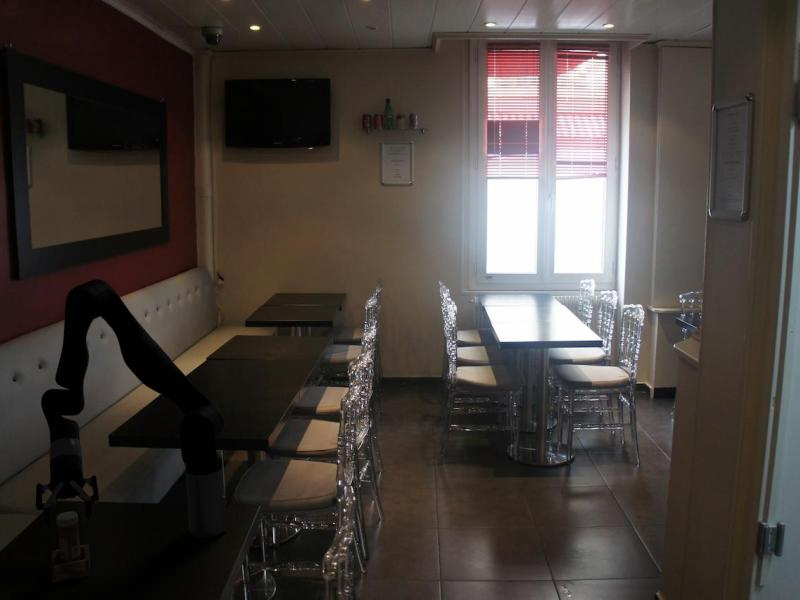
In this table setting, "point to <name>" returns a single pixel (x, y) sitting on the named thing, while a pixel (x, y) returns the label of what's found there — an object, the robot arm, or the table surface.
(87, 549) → the oak socket block
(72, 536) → the sprinkles bottle
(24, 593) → the table surface
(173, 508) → the table surface
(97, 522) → the table surface
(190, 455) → the robot arm
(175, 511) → the table surface
